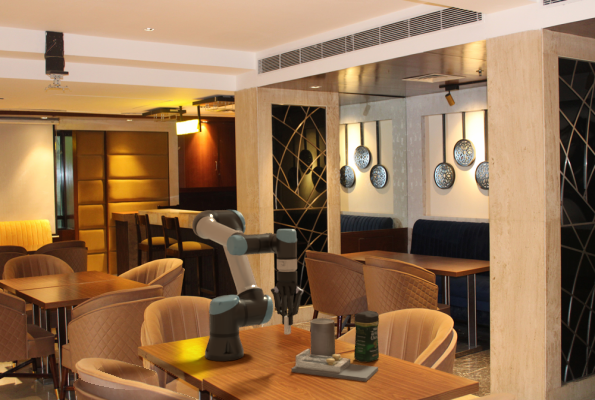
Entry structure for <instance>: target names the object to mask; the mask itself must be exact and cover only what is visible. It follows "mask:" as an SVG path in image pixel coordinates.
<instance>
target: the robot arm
mask: <svg viewBox="0 0 595 400" xmlns="http://www.w3.org/2000/svg"><path fill="white" fill-rule="evenodd" d="M245 219H246V218H245V217H244V215H243V214H242V212H241V211H238V210H235V209H226V210H225V209H224V210H223V209H222V210H220V209H219V210H215V209H214V210H210V209H209V210H208V209H207V210H204V211H201V212H199V213H198V214H196V215H195V217H194V218H193V220H192V223H191V228H192V230H193V233H194V234H195V235H196V236H198V237H199V238H201V239H204V240H211V241H213V242H215V243H217V244H219V245H221V246H222V247H223V250H224V253H225V257H226V259H227V263H228V266H229V269H230V273H231V276H232V279H233V282H234V285H235V288H236V292H237V294H228V295H227V294H225V295H220V296H217V297H215V298H212V299H211V300H210V302H209V311H208V315H209V318H208V319H209V322H208V323H209V337H208V340H207V345H206V347H205V352H204V358H206V359H207V360H210V361H215V362H228V361H235V360H239V359H241V358H244V357H245V356H244V355H245V354H244V352H245V350H244V346H243V344H242V341H241V337H240V328H244V327H253V326H260V325H263V324H267V323H269V322H270V321H271V320H272V316H273V313H274V305H275V308H276V309H275V310H276V313H277V315H280V316H281V325H282V326H283V330H284V331H283V334H284V335H290V334H291V333H292V326H293V324H294V316H296V315H298V313H299V309H300V304H301V300H302V295H303V294H304V293H305V292H304V291H305V290H304V288H302V289H301V288H300V287H299V284H298V271H297V269H298V257H297V255H298V238H297V231H296V229H294V228H279V229H277V230H276V233H272V232H264V233H258V234H257V233H256V234H255V233H254V234H252V233H251V234H246V233H245V232H246V220H245ZM261 254H262V255H263V254H276V269H277V270H278V271H276V280H277V282H276V284H275V286H274V287H273V288H271V289H270V292H271V294H272V295H273V299H272V297H271V296H270V295H269V294H265V293H264V290H263V288H261V287H260V286H258V285H257V281H256V279H255V275H254V272H253V269H252V266H251V262H250V259H249V257H248V255H261ZM279 293H280V294H279ZM295 294H296V295H295ZM294 295H295V296H294ZM294 297H295V299H294ZM273 302H274V303H273Z"/></svg>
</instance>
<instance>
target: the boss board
mask: <svg viewBox="0 0 595 400" xmlns="http://www.w3.org/2000/svg"><path fill="white" fill-rule="evenodd" d="M333 358H334V359H333ZM339 358H342V356H341V354H340V353H335V354H333V355H332V358H328V359H326V362H327V363H328V365H332V366H333V363H334V362H335V361H339ZM378 371H379V366H371V365H363V364H356V363H350V366H348V367H347V368H346V369H345V370H343V371H342V372H341V373H334V372H327V371H319V370H311V369H304V368H296V365H295V366H293V367H291V372H292V373H298V374H305V375H313V376H320V377H328V378H337V379H343V380H350V381H351V380H352V381H359V382H365V383H367V382H368V381H367V380H370V379H371V378H372V377H373V376H374V375H375V374H376V373H377V372H378Z"/></svg>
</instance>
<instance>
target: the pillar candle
mask: <svg viewBox="0 0 595 400" xmlns="http://www.w3.org/2000/svg"><path fill="white" fill-rule="evenodd" d="M309 322H310V354H313V355H322V356H330V357H332V355H333V354H336V333H335V332H336V331H335V330H336V329H335V328H336V327H335V320H334V319H333V318H326V317H325V318H324V317H321V318H313V319H311V320H310V321H309Z"/></svg>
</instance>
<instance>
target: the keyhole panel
mask: <svg viewBox="0 0 595 400" xmlns="http://www.w3.org/2000/svg"><path fill="white" fill-rule="evenodd" d="M328 358H332V357H330V356H322V355H313V354H311V348H306V349H304V350H303V351H301V352H300V353H298V354H297V355H295V366H296V368H304V369H311V370H319V371H327V372H334V373H341V372H342V371H343V370H345V369H346V368H347V367H348V366H350V364H351V358H347V357H341V358H339V361H335V362H334V363H333V366H332V365H328V363H327V362H326V359H328ZM333 359H334V358H333Z"/></svg>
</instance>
